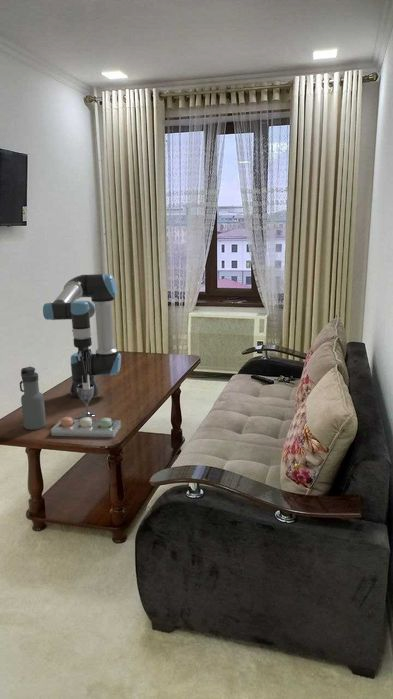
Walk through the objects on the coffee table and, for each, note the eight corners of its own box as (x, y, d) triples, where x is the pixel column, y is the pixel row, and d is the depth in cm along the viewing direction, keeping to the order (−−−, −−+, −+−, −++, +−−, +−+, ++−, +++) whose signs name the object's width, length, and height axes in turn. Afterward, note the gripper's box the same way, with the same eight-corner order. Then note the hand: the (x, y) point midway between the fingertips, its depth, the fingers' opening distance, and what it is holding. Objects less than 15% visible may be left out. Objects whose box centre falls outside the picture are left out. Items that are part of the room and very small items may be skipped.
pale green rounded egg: (102, 428, 228) (101, 417, 227) (113, 428, 228) (112, 417, 227) (99, 432, 224) (98, 421, 222) (110, 432, 223) (109, 422, 222)
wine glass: (89, 418, 241) (87, 389, 237) (75, 417, 244) (73, 387, 240) (98, 413, 248) (96, 383, 244) (85, 411, 251) (82, 382, 247)
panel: (61, 425, 234) (61, 418, 233) (120, 426, 231) (120, 420, 230) (51, 435, 223) (51, 429, 222) (113, 437, 219) (113, 430, 219)
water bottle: (20, 426, 234) (13, 368, 227) (39, 420, 240) (33, 363, 234) (30, 432, 227) (23, 372, 220) (50, 426, 233) (44, 367, 227)
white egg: (83, 427, 229) (82, 417, 228) (93, 427, 229) (93, 417, 228) (79, 431, 225) (78, 421, 223) (90, 432, 224) (89, 421, 223)
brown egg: (64, 427, 230) (63, 416, 229) (74, 427, 230) (73, 417, 229) (60, 431, 226) (59, 421, 224) (70, 431, 225) (69, 421, 224)
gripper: (79, 333, 225) (83, 383, 231) (68, 340, 212) (73, 393, 219) (95, 333, 224) (99, 384, 230) (85, 341, 212) (90, 394, 218)
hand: (86, 388), depth 224 cm, fingers closed
